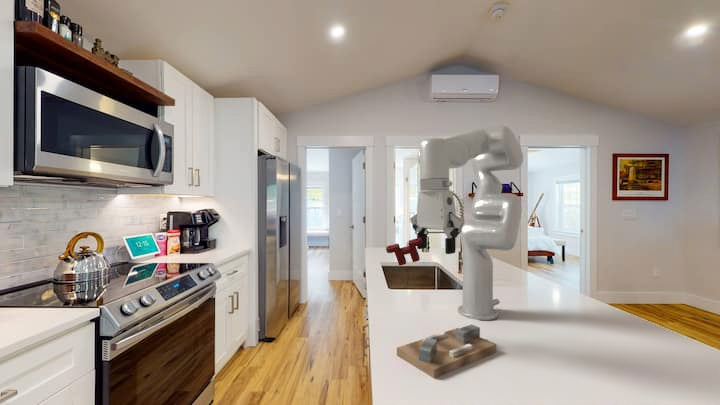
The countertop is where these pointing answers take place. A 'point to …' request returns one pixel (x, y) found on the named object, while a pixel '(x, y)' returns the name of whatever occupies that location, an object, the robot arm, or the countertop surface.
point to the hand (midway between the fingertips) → (435, 250)
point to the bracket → (405, 251)
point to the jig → (447, 350)
